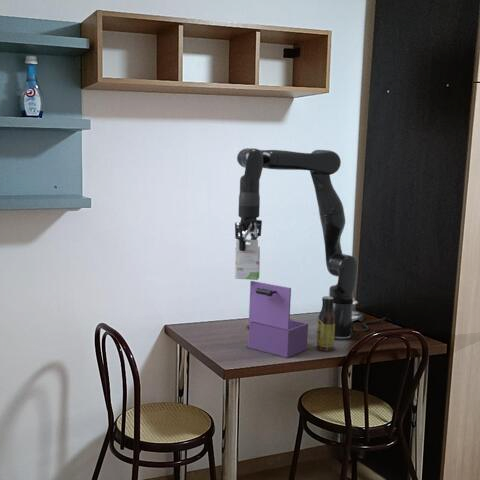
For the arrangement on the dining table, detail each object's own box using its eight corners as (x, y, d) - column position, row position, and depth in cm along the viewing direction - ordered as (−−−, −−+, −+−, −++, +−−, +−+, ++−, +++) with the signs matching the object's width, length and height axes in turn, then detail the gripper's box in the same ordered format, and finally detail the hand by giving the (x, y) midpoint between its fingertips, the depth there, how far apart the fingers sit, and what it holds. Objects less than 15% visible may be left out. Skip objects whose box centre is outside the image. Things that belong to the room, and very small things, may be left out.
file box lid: (251, 280, 236) (243, 282, 233) (291, 288, 226) (283, 290, 222) (249, 320, 239) (241, 323, 235) (289, 329, 228) (281, 332, 224)
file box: (268, 339, 250) (269, 315, 249) (306, 349, 239) (308, 323, 238) (248, 347, 240) (249, 321, 238) (287, 357, 229) (288, 330, 227)
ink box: (259, 277, 238) (260, 238, 236) (258, 280, 233) (259, 240, 231) (236, 276, 240) (237, 237, 238) (234, 278, 235) (235, 238, 233)
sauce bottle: (317, 345, 244) (320, 294, 241) (334, 347, 242) (337, 296, 239) (315, 350, 238) (318, 297, 235) (332, 352, 236) (335, 299, 233)
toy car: (344, 293, 290) (368, 298, 282) (343, 314, 292) (366, 319, 283) (321, 299, 278) (345, 304, 270) (320, 321, 280) (344, 326, 271)
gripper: (246, 206, 225) (245, 253, 227) (268, 203, 235) (267, 248, 238) (228, 204, 230) (227, 250, 232) (251, 202, 240) (250, 246, 243)
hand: (248, 249), depth 235 cm, fingers closed on ink box, 6 cm apart
